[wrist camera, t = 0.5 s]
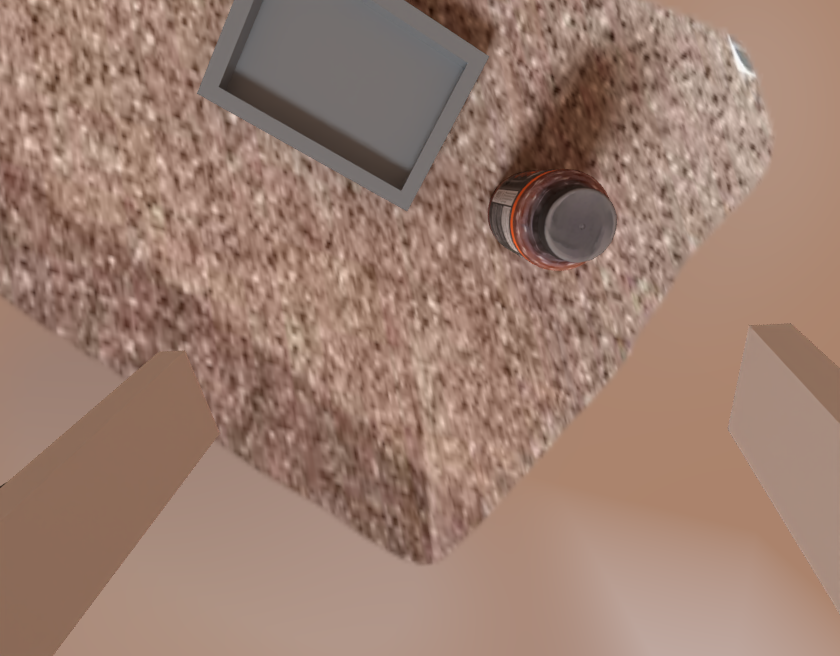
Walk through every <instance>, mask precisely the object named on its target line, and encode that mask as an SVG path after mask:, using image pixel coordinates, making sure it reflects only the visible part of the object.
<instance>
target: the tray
mask: <svg viewBox="0 0 840 656" xmlns="http://www.w3.org/2000/svg"><path fill="white" fill-rule="evenodd" d="M488 58H489V56H488V55H486V54H485V53H483V52H482V51H480V50H479V49H477V48H476V47H474V46H473V45H471V44H470V43H468V42H466V41H465V40H463V39H462V38H460V37H459V36H457V35H456V34H454V33H453V32H451V31H450V30H448V29H447V28H445V27H444V26H442V25H441V24H439V23H438V22H436V21H435V20H433V19H432V18H430V17H429V16H427V15H426V14H424V13H423V12H421V11H420V10H418V9H417V8H415V7H414V6H412V5H411V4H409V3H408V2H406V1H405V0H234V2H233V4H232V7H231V9H230V12H229V14H228V17H227V19H226V22H225V25H224V27H223V30H222V32H221V35H220V37H219V40H218V42H217V45H216V47H215V50H214V52H213V55H212V57H211V60H210V62H209V65H208V67H207V70H206V72H205V75H204V77H203V80H202V83H201V85H200V88H199V90H198V93H197V94H199V95H201V96H202V97H204V98H206V99H208V100H209V101H211V102H213V103H215V104H217V105H218V106H220V107H222V108H224V109H226V110H227V111H229V112H231V113H233V114H234V115H236V116H238V117H240V118H242V119H243V120H245V121H247V122H249V123H250V124H252V125H254V126H256V127H258V128H259V129H261V130H263V131H265V132H267V133H268V134H270V135H272V136H274V137H275V138H277V139H279V140H281V141H283V142H284V143H286V144H288V145H290V146H292V147H293V148H295V149H297V150H299V151H300V152H302V153H304V154H306V155H308V156H309V157H311V158H313V159H315V160H316V161H318V162H320V163H322V164H324V165H325V166H327V167H329V168H331V169H333V170H334V171H336V172H338V173H340V174H341V175H343V176H345V177H347V178H349V179H350V180H352V181H354V182H356V183H357V184H359V185H361V186H363V187H365V188H366V189H368V190H370V191H372V192H374V193H375V194H377V195H379V196H381V197H382V198H384V199H386V200H388V201H390V202H391V203H393V204H395V205H397V206H398V207H400V208H402V209H404V210H406V211H408V209H409V207H410V205H411V203H412V201H413V199H414V197H415V196H416V194H417V192H418V190H419V188H420V186H421V184H422V182H423V180H424V179H425V177H426V175H427V173H428V171H429V169H430V167H431V165H432V163H433V162H434V160H435V158H436V156H437V154H438V152H439V150H440V148H441V146H442V145H443V143H444V141H445V139H446V137H447V135H448V133H449V131H450V129H451V128H452V126H453V124H454V122H455V120H456V118H457V116H458V114H459V112H460V111H461V109H462V107H463V105H464V103H465V101H466V99H467V97H468V95H469V94H470V92H471V90H472V88H473V86H474V84H475V82H476V80H477V78H478V77H479V75H480V73H481V71H482V69H483V67H484V65H485V63H486V61H487V60H488Z"/></svg>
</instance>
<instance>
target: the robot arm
mask: <svg viewBox="0 0 840 656" xmlns="http://www.w3.org/2000/svg"><path fill="white" fill-rule="evenodd" d="M728 431H729V432H730V434H731V436H732V437H733V439H734V440H735V442H736V444H737V445H738V447H739V449H740V450H741V452H742V454H743V455H744V457H745V459H746V460H747V462H748V464H749V465H750V467H751V469H752V470H753V471H754V474H755V475H756V477H757V478H758V480H759V482H760V483H761V485H762V487H763V488H764V490H765V492H766V493H767V495H768V497H769V498H770V500H771V502H772V503H773V505H774V506H775V508H776V510H777V511H778V513H779V515H780V516H781V518H782V520H783V521H784V523H785V525H786V526H787V528H788V530H789V531H790V533H791V534H792V536H793V538H794V539H795V541H796V543H797V544H798V546H799V548H800V549H801V551H802V553H803V554H804V556H805V558H806V559H807V561H808V563H809V564H810V566H811V567H812V569H813V571H814V572H815V574H816V576H817V577H818V579H819V581H820V582H821V584H822V585H823V587H824V588H825V590H826V592H827V594H828V595H829V597H830V599H831V600H832V602H833V604H834V605H835V607H836V609H837V610H838V612H839V613H840V368H839V367H838V366H837V365H835V363H833V362H832V361H831V360H830V359H829V358H828V357H827V356H826V355H825V354H824V353H823V352H821V351H820V350H819V349H818V348H817V347H816V346H815V345H814V344H813V343H812V342H811V341H810V340H808V339H807V338H806V337H805V336H804V335H803V334H802V333H801V332H800V331H799V330H798V329H797V328H795V327H794V326H793V325H792V324H770V325H749V329H748V334H747V338H746V343H745V348H744V353H743V358H742V362H741V368H740V372H739V377H738V382H737V387H736V391H735V396H734V401H733V406H732V411H731V416H730V420H729V425H728ZM219 434H220V432H219V430H218V428H217V425H216V423H215V420H214V418H213V416H212V413H211V411H210V409H209V406H208V404H207V402H206V399H205V397H204V395H203V392H202V390H201V387H200V385H199V383H198V380H197V378H196V376H195V373H194V371H193V369H192V366H191V364H190V362H189V359H188V357H187V354H186V352H185V351H166V352H158V353H157V354H156V355H155V356H153V357H152V358H151V359H150V360H149V361H148V362H147V363H145V364H144V365H143V366H142V367H141V368H140V369H138V370H137V371H136V372H135V373H134V374H133V375H131V376H130V377H129V378H128V379H127V380H126V381H124V382H123V383H122V384H121V385H120V386H119V387H117V388H116V389H115V390H114V391H113V392H112V393H110V394H109V395H108V396H107V397H106V398H105V399H104V400H102V401H101V402H100V403H99V404H98V405H97V406H95V407H94V408H93V409H92V410H91V411H90V412H88V413H87V414H86V415H85V416H84V417H82V418H81V419H80V420H79V421H78V422H77V423H76V424H74V425H73V426H72V427H71V428H70V429H69V430H67V431H66V432H65V433H64V434H63V435H62V436H60V437H59V438H58V439H57V440H56V441H55V442H53V443H52V444H51V445H50V446H49V447H48V448H46V449H45V450H44V451H43V452H42V453H41V454H39V455H38V456H37V457H36V458H35V459H34V460H32V461H31V462H30V463H29V464H28V465H27V466H26V467H24V468H23V469H22V470H21V471H20V472H19V473H17V474H16V475H15V476H14V477H13V478H12V479H10V480H9V481H8V482H6V483H5V484H3V485H2V486H0V656H53V655H54V654H55V652H56V651H57V650H58V648H59V647H60V646H61V644H62V643H63V642H64V640H65V639H66V638H67V636H68V635H69V634H70V632H71V631H72V630H73V628H74V627H75V625H76V624H77V623H78V622H79V620H80V619H81V618H82V616H83V615H84V614H85V612H86V611H87V610H88V608H89V607H90V606H91V604H92V603H93V602H94V600H95V599H96V598H97V596H98V595H99V594H100V592H101V591H102V590H103V588H104V587H105V585H106V584H107V583H108V582H109V580H110V579H111V577H112V576H113V575H114V574H115V572H116V571H117V570H118V568H119V567H120V566H121V564H122V563H123V561H124V560H125V559H126V558H127V556H128V555H129V554H130V552H131V551H132V550H133V548H134V547H135V546H136V544H137V543H138V542H139V540H140V539H141V538H142V536H143V535H144V534H145V532H146V531H147V529H148V528H149V527H150V526H151V524H152V523H153V521H154V520H155V519H156V518H157V516H158V515H159V514H160V512H161V511H162V510H163V508H164V507H165V506H166V504H167V503H168V502H169V500H170V499H171V498H172V496H173V495H174V494H175V492H176V491H177V489H178V488H179V487H180V485H181V484H182V483H183V481H184V480H185V479H186V478H187V476H188V475H189V474H190V472H191V471H192V470H193V468H194V467H195V466H196V464H197V463H198V462H199V460H200V459H201V458H202V456H203V455H204V454H205V452H206V451H207V450H208V448H209V447H210V445H211V444H212V443H213V442H214V440H215V439H216V438H217V436H218V435H219Z"/></svg>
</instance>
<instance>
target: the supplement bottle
mask: <svg viewBox="0 0 840 656" xmlns="http://www.w3.org/2000/svg"><path fill="white" fill-rule="evenodd" d="M488 222H489V226H490V229H491V231H492V233H493V235H494V236H495V238H496V239H497V240H498V241H499V242H500V243H501V244H502V245H503V246H504V247H506V248H507V249H509V250H510V251H512V252H514V253H516V254H517V255H519V256H521V257H522V258H524V259H526V260H528V261H529V262H531V263H532V264H535V265H537V266H539V267H541V268H544V269H548V270H555V271H561V270H569V269H573V268H576V267H578V266H580V265H582V264H584V263H586V262H587V261H589V260H592V259H594V258H595V257H597V256H598V255H600V254H601V253H603V252H604V250H606V248H607V247H608V246H609V244H610V243H611V241H612V239H613V237H614V234H615V231H616V225H617V217H616V212H615V208H614V206H613V204H612V202H611V201H610V200H609V197H608V195H607V193H606V191H605V190H604V188H603V187H602V186H601V184H599V183H598V181H596V180H595V179H594V178H593V177H591V176H590V175H588V174H585V173H583V172H580V171H577V170H570V169H554V170H537V171H535V170H533V171H525V172H521V173H518V174H515V175H513V176H511V177H509V178H507V179H506V180H505V181H503V182H502V183H501V184H500V185H499V186H498V187H497V189H496V190H495V192H494V194H493V195H492V198H491V200H490V203H489V207H488Z"/></svg>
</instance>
